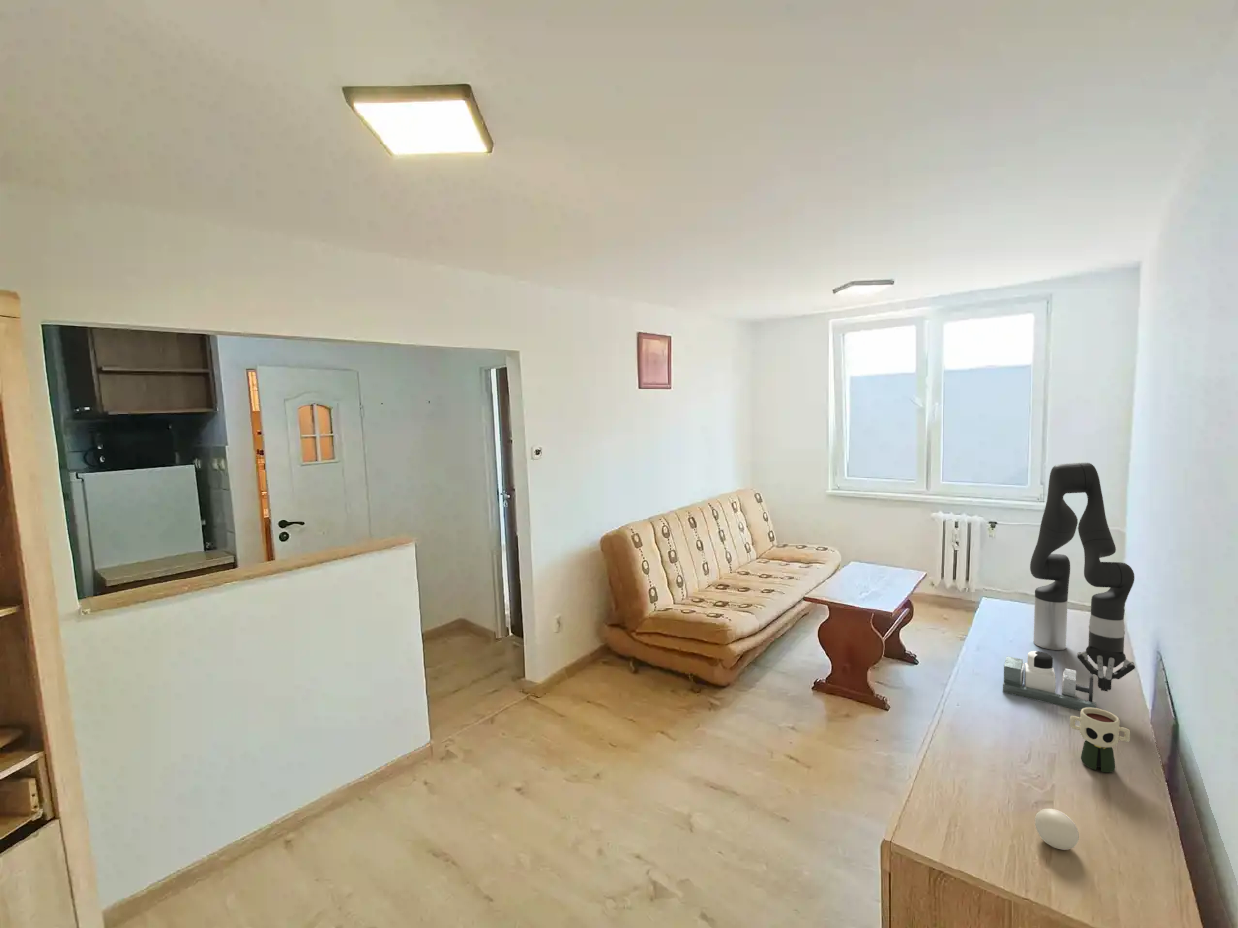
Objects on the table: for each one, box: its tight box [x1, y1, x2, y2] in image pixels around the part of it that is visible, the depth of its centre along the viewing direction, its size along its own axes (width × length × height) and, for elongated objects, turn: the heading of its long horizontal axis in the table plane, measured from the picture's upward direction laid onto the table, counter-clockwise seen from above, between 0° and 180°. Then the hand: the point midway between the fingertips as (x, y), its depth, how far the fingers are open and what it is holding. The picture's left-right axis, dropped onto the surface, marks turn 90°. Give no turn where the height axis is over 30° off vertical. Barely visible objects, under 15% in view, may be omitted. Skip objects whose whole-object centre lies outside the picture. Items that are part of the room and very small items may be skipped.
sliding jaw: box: [1061, 668, 1094, 702], centre depth 162 cm, size 8×7×8 cm
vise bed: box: [1002, 656, 1097, 712], centre depth 166 cm, size 10×22×8 cm, turn 50°
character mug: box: [1069, 707, 1131, 773], centre depth 133 cm, size 11×7×13 cm, turn 52°
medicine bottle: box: [1023, 650, 1057, 693], centre depth 168 cm, size 7×7×12 cm
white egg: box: [1034, 808, 1080, 851], centre depth 112 cm, size 7×7×7 cm
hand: (1104, 689), depth 159 cm, fingers closed
